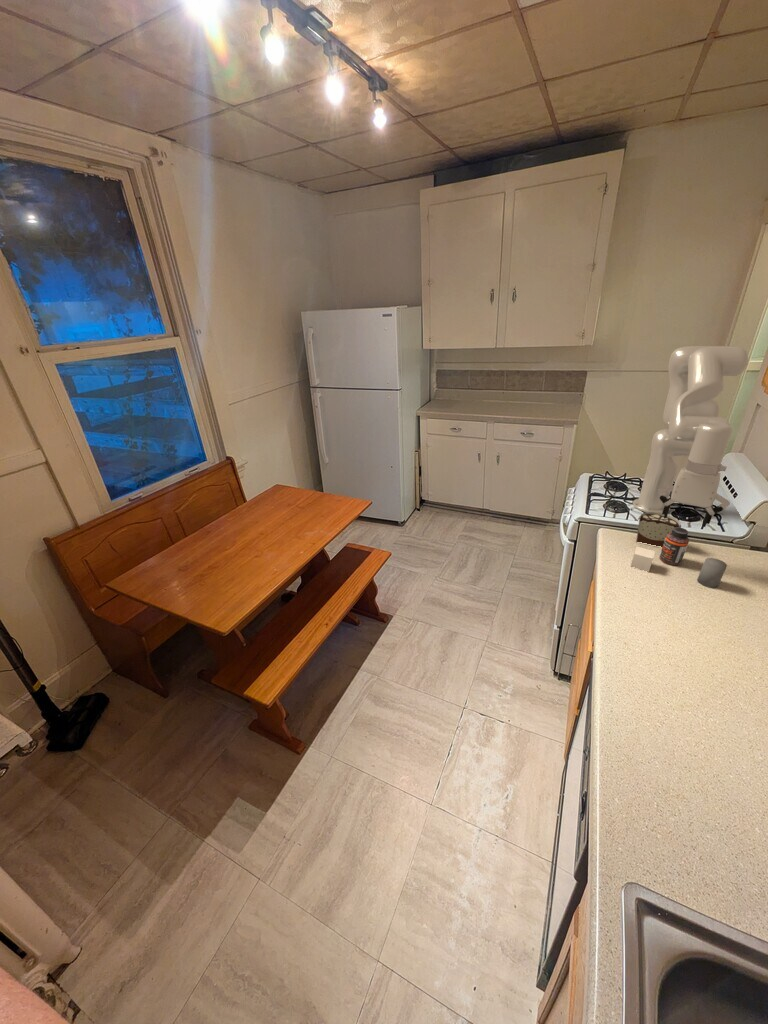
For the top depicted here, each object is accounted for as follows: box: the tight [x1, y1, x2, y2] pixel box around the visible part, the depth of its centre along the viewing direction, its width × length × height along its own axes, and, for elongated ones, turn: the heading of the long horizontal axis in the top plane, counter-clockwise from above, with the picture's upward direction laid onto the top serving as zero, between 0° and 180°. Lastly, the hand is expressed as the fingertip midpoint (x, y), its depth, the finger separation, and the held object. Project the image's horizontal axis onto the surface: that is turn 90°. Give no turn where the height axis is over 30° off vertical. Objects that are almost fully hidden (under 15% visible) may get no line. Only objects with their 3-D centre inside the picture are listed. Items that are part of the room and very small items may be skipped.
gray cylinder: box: [696, 557, 728, 589], centre depth 117 cm, size 5×5×7 cm
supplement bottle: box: [658, 527, 690, 566], centre depth 126 cm, size 6×6×11 cm
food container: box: [635, 512, 682, 547], centre depth 137 cm, size 12×6×10 cm, turn 58°
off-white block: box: [630, 546, 656, 573], centre depth 126 cm, size 5×5×5 cm
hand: (684, 520), depth 122 cm, fingers open, 9 cm apart
